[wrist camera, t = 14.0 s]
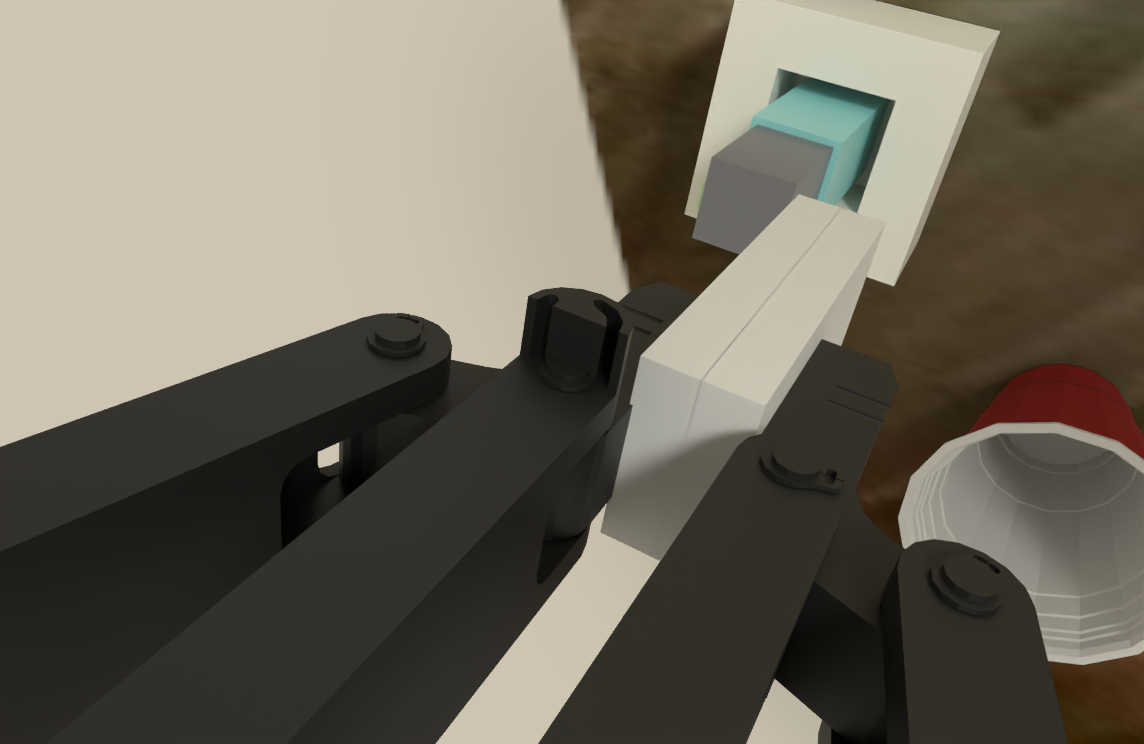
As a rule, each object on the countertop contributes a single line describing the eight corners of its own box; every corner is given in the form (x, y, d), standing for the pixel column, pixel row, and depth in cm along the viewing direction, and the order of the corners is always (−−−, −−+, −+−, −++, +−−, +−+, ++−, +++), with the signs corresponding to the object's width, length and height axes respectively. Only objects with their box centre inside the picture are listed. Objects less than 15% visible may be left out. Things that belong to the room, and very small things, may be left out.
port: (779, -24, 43) (734, -9, 38) (1000, 31, 39) (983, 54, 35) (727, 180, 48) (682, 216, 43) (917, 242, 45) (892, 288, 40)
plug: (814, 73, 42) (706, 147, 31) (891, 94, 41) (805, 179, 30) (793, 147, 44) (683, 241, 33) (865, 169, 43) (776, 274, 32)
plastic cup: (1076, 264, 42) (1063, 378, 33) (1246, 434, 42) (1282, 598, 32) (894, 392, 49) (840, 517, 40) (1039, 539, 49) (1019, 700, 39)
